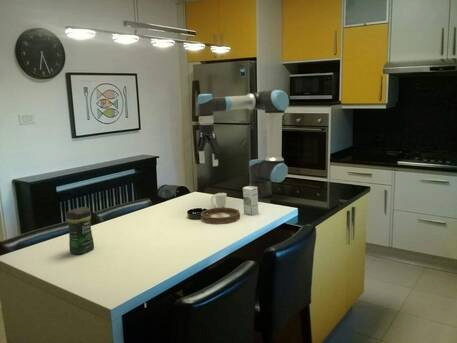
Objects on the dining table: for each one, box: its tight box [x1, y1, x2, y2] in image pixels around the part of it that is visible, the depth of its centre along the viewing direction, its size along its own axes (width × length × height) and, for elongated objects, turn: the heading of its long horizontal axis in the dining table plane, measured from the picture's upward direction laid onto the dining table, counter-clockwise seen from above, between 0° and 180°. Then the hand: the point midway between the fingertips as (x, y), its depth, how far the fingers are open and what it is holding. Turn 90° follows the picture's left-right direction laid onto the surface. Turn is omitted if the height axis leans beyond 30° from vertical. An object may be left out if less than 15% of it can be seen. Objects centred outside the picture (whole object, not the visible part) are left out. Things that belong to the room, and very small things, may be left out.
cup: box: [210, 192, 227, 208], centre depth 230 cm, size 7×10×8 cm
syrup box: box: [242, 185, 259, 216], centre depth 215 cm, size 6×6×14 cm
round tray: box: [200, 207, 241, 225], centre depth 209 cm, size 20×20×3 cm
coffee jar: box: [66, 206, 95, 255], centre depth 169 cm, size 10×8×19 cm
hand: (208, 164), depth 214 cm, fingers open, 13 cm apart
